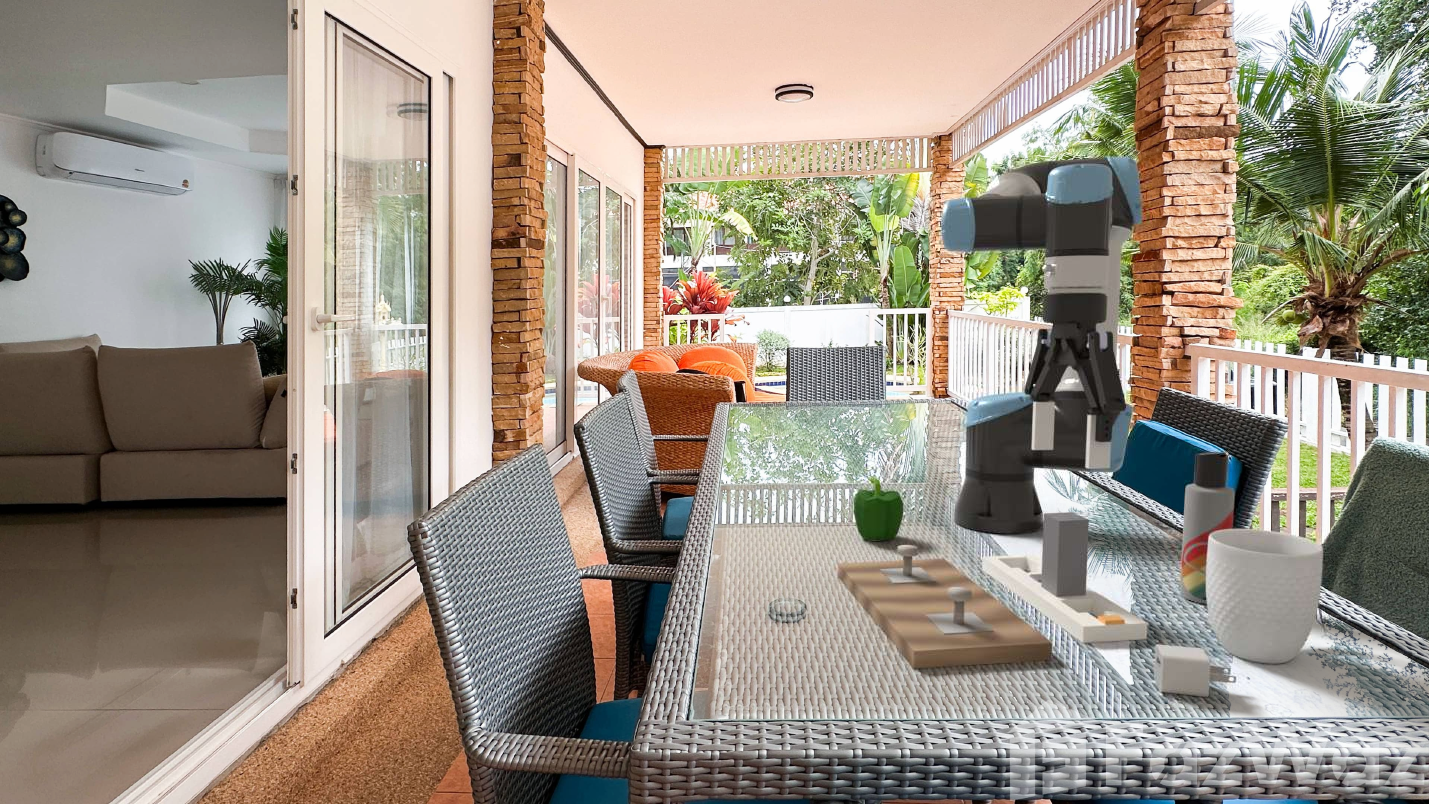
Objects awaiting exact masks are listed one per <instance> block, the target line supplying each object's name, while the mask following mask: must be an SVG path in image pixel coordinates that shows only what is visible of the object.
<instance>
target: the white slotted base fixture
mask: <svg viewBox="0 0 1429 804" xmlns="http://www.w3.org/2000/svg"><path fill="white" fill-rule="evenodd" d="M1089 525H1090V520H1089V519H1088V518H1086V517H1084V516H1081V514H1078V513H1075V512H1073V511H1068V512H1067V511H1066V512H1047V513H1044V512H1043V527H1042V528H1043V530H1042V533H1043V534H1042V554H1041V555H1042V558H1040V557H1039V556H1037V555H1035V554H1033V553H1032V554H1031V553H1030V554H1014V555H1013V554H1012V555H1011V554H1010V555H1008V554H1006V555H992V556H991V555H989V556H982V557H981V560H982V561H981V563H982V564H981V570H982V571H983V572H984V573H985V574H987V575H988V576H990V577H991V578H992V579H994V580H996V581H997V582H998V583H1000V584H1001V585H1002V586H1004V587H1005V588H1006V589H1008V590H1010V591H1011V592H1012V593H1013V594H1015V595H1016V596H1018V597H1019V598H1020V599H1022V600H1023V601H1024V602H1026V603H1027V604H1029V605H1030V606H1031V607H1033V609H1035V610H1037V611H1038V612H1039V613H1041V614H1042V615H1044V616H1045V617H1046V618H1047V619H1049V620H1050V621H1052V622H1053V623H1055V624H1056V625H1057V626H1058V627H1060V628H1061V629H1063V630H1064V631H1065V632H1067V633H1068V634H1070V635H1071V636H1072V637H1074V638H1076V640H1078V641H1080V642H1081V643H1082V644H1087V643H1088V644H1089V643H1106V642H1107V643H1108V642H1122V641H1137V640H1147V639H1148V638H1147V637H1148V636H1147V634H1148V622H1147V621H1146V620H1143V619H1142V618H1140V617H1138V616H1137V615H1135V614H1133V613H1132V612H1130V611H1129V610H1127V609H1125V608H1124V607H1122V606H1120V605H1118V604H1117V603H1115V602H1113V601H1111V600H1110V599H1108V598H1107V597H1105V596H1104V595H1102V594H1101V593H1098V592H1097V591H1095V590H1094V589H1091V588H1090V587H1088V586H1087V573H1088V572H1087V571H1088V551H1089V550H1088V548H1089V530H1090V529H1089V527H1090V526H1089ZM1093 615H1094V616H1093Z"/></svg>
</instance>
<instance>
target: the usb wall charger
mask: <svg viewBox="0 0 1429 804" xmlns="http://www.w3.org/2000/svg"><path fill="white" fill-rule="evenodd" d="M1154 647H1155V650H1154V664H1153V665H1154V669H1153V671H1154V672H1153V676H1154V677H1153V678H1154V681H1155V683H1156V686H1157V688H1158V690H1159V692H1160V693H1165V694H1167V693H1168V694H1177V695H1185V696H1192V697H1193V696H1195V697H1202V698H1208V697H1209V695H1210V682H1216V683H1217V682H1219V683H1233V684H1235V683H1237V677H1236V675H1231V669H1232V668H1230V667H1227V666H1226V667H1225V666H1221V665H1220V666H1219V665H1211V660H1210V658H1209V657H1208V655H1207V653H1206V652H1205V650H1204V649H1203V648H1198V647H1189V646H1188V647H1187V646H1179V645H1178V646H1176V645H1168V644H1155V646H1154ZM1225 670H1227V672H1225ZM1230 678H1233V680H1230Z"/></svg>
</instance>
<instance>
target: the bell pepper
mask: <svg viewBox="0 0 1429 804" xmlns="http://www.w3.org/2000/svg"><path fill="white" fill-rule="evenodd" d="M869 481H870V482H871V484H874V489H871V490H868V489H865V488H864V489H863V488H862V489H859V490H858V492H857V493H856V494H855V497H854V498H853V516H854V521H855V525H856V527H857V531H858V533H859V535H860V537H861V538H862V539H864V540H866V541H872V542H879V541H884V540H885V541H886V540H894V539H895V538H896V536H897V535H898V534H899V531H900V528H901V524H902V521H903V518H904V501H903V499H902V497H901V495H900V493H899V491H898V490H888V491H884V490H883V489H882V486H881V482H880V480H879V479H878V478H877V477H871V478H870V479H869Z"/></svg>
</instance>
